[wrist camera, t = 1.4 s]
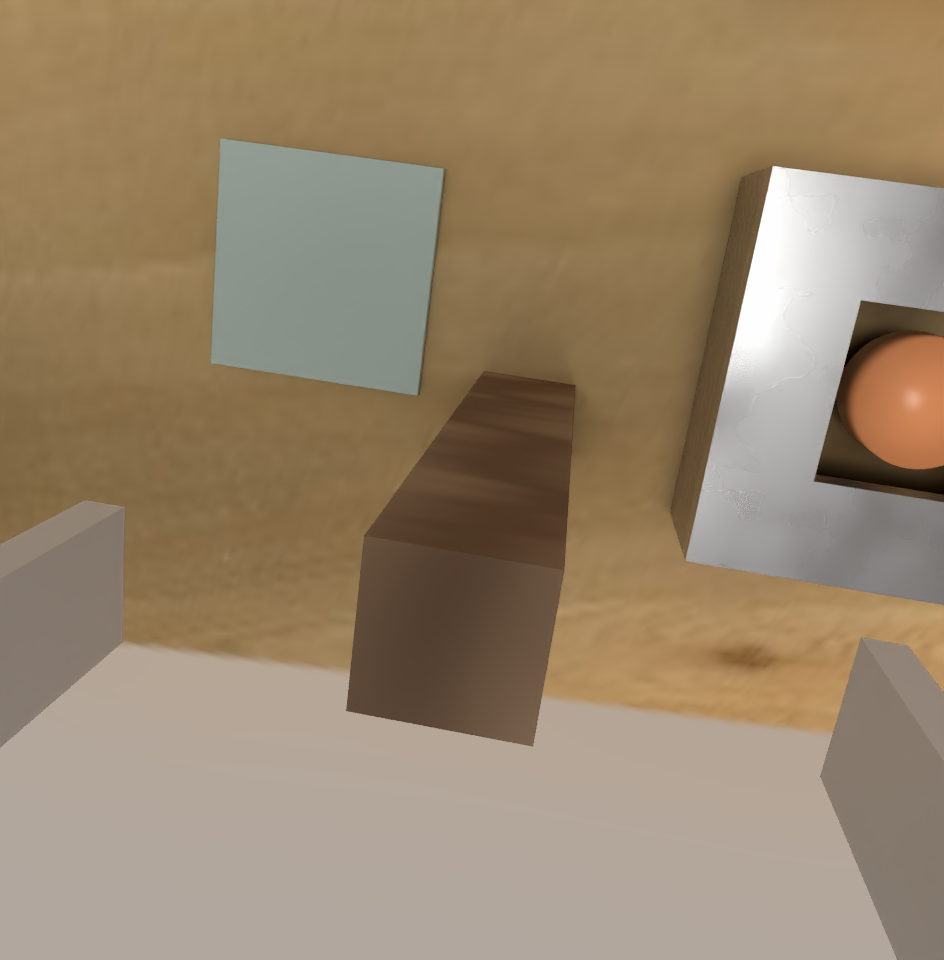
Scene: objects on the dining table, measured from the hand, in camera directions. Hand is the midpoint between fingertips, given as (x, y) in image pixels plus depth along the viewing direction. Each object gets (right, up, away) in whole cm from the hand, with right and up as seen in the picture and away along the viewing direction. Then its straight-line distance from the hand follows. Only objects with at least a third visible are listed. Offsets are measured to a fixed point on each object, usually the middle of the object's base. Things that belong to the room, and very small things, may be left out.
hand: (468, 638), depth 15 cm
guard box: (+14, +6, +15) cm, 21 cm away
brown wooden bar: (+2, +5, +17) cm, 18 cm away
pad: (-5, +11, +16) cm, 20 cm away
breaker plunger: (+14, +6, +12) cm, 19 cm away
